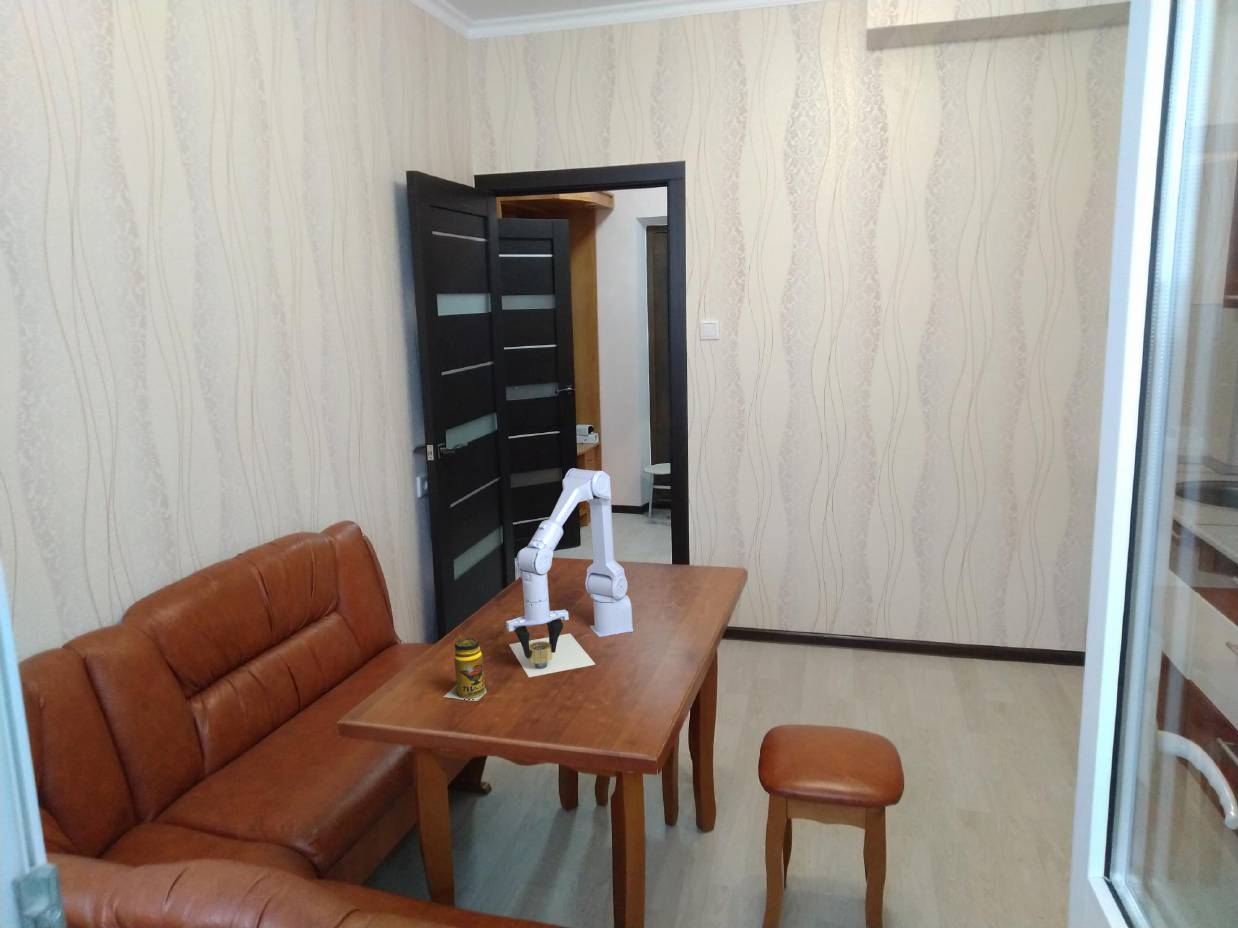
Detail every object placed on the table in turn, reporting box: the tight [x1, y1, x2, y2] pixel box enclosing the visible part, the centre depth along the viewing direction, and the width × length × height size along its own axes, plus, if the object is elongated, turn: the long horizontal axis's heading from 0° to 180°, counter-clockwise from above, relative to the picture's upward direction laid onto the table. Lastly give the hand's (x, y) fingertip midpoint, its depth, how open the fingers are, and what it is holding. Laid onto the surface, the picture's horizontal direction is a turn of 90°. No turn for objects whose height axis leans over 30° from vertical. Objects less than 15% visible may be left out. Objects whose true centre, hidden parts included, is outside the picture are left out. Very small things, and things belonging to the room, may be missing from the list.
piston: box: [534, 646, 547, 669], centre depth 198 cm, size 3×3×4 cm
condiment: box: [443, 637, 488, 702], centre depth 187 cm, size 7×8×12 cm
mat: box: [508, 633, 596, 678], centre depth 206 cm, size 16×21×1 cm
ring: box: [528, 641, 553, 663], centre depth 198 cm, size 6×6×3 cm
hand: (540, 653), depth 198 cm, fingers closed on ring, 6 cm apart
